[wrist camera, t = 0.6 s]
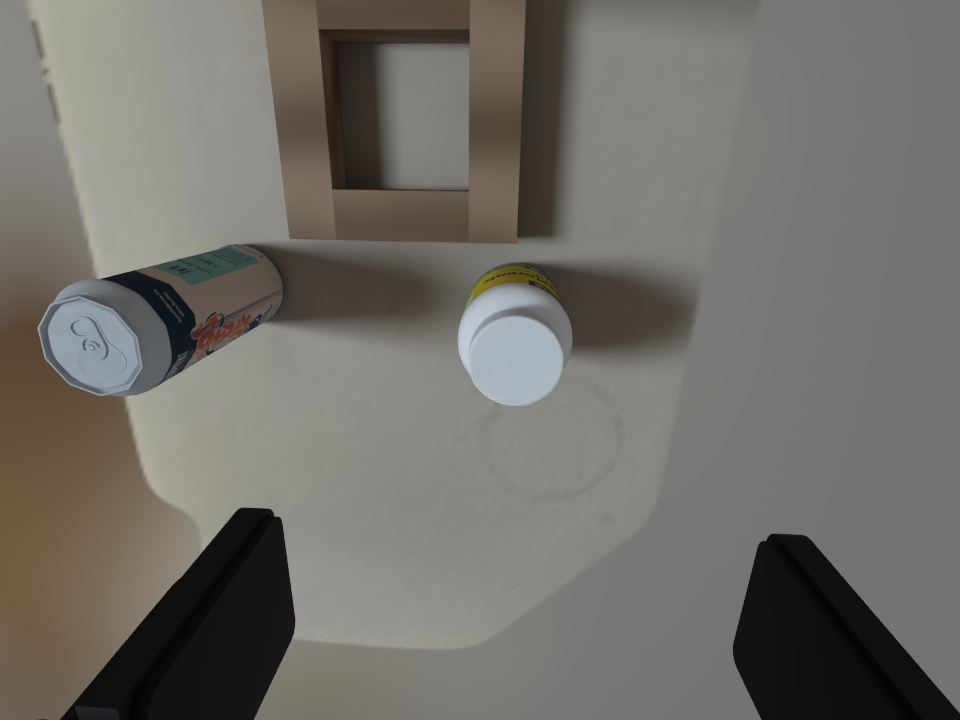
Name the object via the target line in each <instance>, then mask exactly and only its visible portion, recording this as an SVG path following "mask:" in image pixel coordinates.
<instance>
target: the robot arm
mask: <svg viewBox="0 0 960 720" xmlns="http://www.w3.org/2000/svg"><path fill="white" fill-rule="evenodd" d="M294 629H295V613H294V606H293V599H292V591H291V584H290V576H289V569H288V562H287V554H286V547H285V540H284V532H283V525H282V520H281V518H280V517H274V513H273V511H272V510H271V509H263V508H240V509H238V510H237V511H236V512H235V513H234V515H233V516H232V517H231V518H230V519H229V521H228V522H227V523H226V524H225V525H224V527H223V528H222V529H221V530H220V531H219V533H218V534H217V535H216V536H215V538H214V539H213V540H212V541H211V542H210V544H209V545H208V546H207V547H206V548H205V550H204V551H203V552H202V553H201V554H200V556H199V557H198V558H197V559H196V560H195V562H194V563H193V564H192V565H191V566H190V568H189V569H188V570H187V571H186V572H185V574H184V575H183V576H182V577H181V578H180V579H179V580H178V581H177V582H176V583H175V584H174V585H172V587H171V588H170V589H169V590H168V591H167V593H166V594H165V595H164V596H163V597H162V598H161V600H160V601H159V602H158V603H157V604H156V606H155V607H154V608H153V609H152V611H151V612H150V613H149V614H148V615H147V616H146V618H145V619H144V620H143V621H142V622H141V624H140V625H139V626H138V627H137V628H136V630H135V631H134V632H133V633H132V634H131V636H130V637H129V638H128V639H127V640H126V641H125V643H124V644H123V645H122V646H121V648H120V649H119V650H118V651H117V652H116V653H115V655H114V656H113V657H112V658H111V659H110V661H109V662H108V663H107V664H106V666H105V667H104V668H103V669H102V670H101V671H100V673H99V674H98V675H97V676H96V677H95V679H94V680H93V681H92V682H91V683H90V685H89V686H88V687H87V688H86V689H85V690H84V692H83V693H82V694H81V695H80V697H79V698H78V699H77V700H76V701H75V703H74V704H73V705H72V706H71V707H70V708H69V710H68V711H67V712H66V713H65V715H64V716H63V717H62V718H61V719H60V720H254V718H255V716H256V714H257V712H258V709H259V707H260V705H261V703H262V701H263V699H264V696H265V695H266V693H267V690H268V688H269V686H270V684H271V682H272V680H273V678H274V676H275V674H276V672H277V669H278V667H279V665H280V663H281V661H282V659H283V657H284V655H285V652H286V650H287V648H288V646H289V644H290V642H291V640H292V637H293V634H294ZM733 656H734V661H735V664H736V667H737V669H738V671H739V673H740V675H741V678H742V680H743V682H744V684H745V686H746V688H747V690H748V692H749V694H750V696H751V699H752V701H753V703H754V705H755V707H756V709H757V711H758V713H759V715H760V718H761V719H762V720H960V713H959V712H958V711H957V710H956V709H955V708H954V706H953V705H952V704H951V703H950V701H949V700H948V699H947V698H946V697H945V696H944V694H943V693H942V692H941V691H940V690H939V689H938V688H937V687H936V685H935V684H934V683H933V682H932V681H931V680H930V678H929V677H928V676H927V675H926V674H925V672H924V671H923V670H922V669H921V668H920V667H919V665H918V664H917V663H916V662H915V661H914V660H913V658H912V657H911V656H910V655H909V654H908V653H907V651H906V650H905V649H904V648H903V647H902V646H901V644H900V643H899V642H898V641H897V640H896V639H895V637H894V636H893V635H892V634H891V633H890V632H889V631H888V629H887V628H886V627H885V626H884V625H883V624H882V622H881V621H880V620H879V619H878V618H877V617H876V615H875V614H874V613H873V612H872V611H871V610H870V608H869V607H868V606H867V605H866V604H865V602H864V601H863V600H862V599H861V598H860V597H859V596H858V594H857V593H856V592H855V591H854V590H853V589H852V587H851V586H850V585H849V584H848V583H847V582H846V580H845V579H844V578H843V577H842V576H841V575H840V573H839V572H838V571H837V570H836V569H835V568H834V567H833V565H832V564H831V563H830V562H829V561H828V559H827V558H826V557H825V556H824V555H823V554H822V552H821V551H820V550H819V549H818V548H817V547H816V546H815V544H814V543H813V542H812V541H811V540H810V539H809V538H808V537H806V536H804V535H791V534H771V535H770V536H769V537H768V538H767V541H762V542H760V544H759V546H758V549H757V552H756V556H755V560H754V565H753V569H752V572H751V576H750V580H749V584H748V588H747V592H746V596H745V600H744V604H743V608H742V612H741V616H740V620H739V624H738V627H737V631H736V635H735V639H734V643H733ZM39 720H46V719H39Z"/></svg>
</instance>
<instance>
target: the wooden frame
mask: <svg viewBox="0 0 960 720" xmlns="http://www.w3.org/2000/svg"><path fill="white" fill-rule="evenodd" d="M262 6H263V15H264V24H265V32H266V41H267V49H268V58H269V66H270V75H271V83H272V92H273V100H274V109H275V117H276V126H277V134H278V143H279V151H280V160H281V169H282V177H283V186H284V194H285V203H286V211H287V220H288V228H289V237H290V239H325V240H376V241H427V242H478V243H517V222H518V196H519V170H520V144H521V117H522V91H523V65H524V39H525V13H526V0H262ZM336 43H470V84H469V190H406V189H347V184H346V171H345V158H344V144H343V131H342V118H341V105H340V92H339V78H338V65H337V52H336Z"/></svg>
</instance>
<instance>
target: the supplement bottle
mask: <svg viewBox="0 0 960 720" xmlns="http://www.w3.org/2000/svg"><path fill="white" fill-rule="evenodd" d="M458 349H459V354H460V357H461V360H462V362H463V364H464V366H465V368H466V370H467V371H468V372H469V374H470V375H471V378H472V380H473V382H474V383H475V385H476V386H477V388H478V389H479V390H480V391H481V392H482V393H483V394H484V395H485V396H487V397H488V398H490V399H491V400H493V401H495V402H498V403H500V404H504V405H509V406H522V405H528V404H531V403H534V402H537V401H539V400H541V399H542V398H544V397H545V396H547V395H548V394H549V393H550V392H551V391H552V390H553V389H554V388H555V387H556V385H557V384H558V382H559V380H560V378H561V376H562V373H563V369H564V368H565V366H566V364H567V362H568V360H569V357H570V353H571V349H572V329H571V324H570V320H569V317H568V315H567V313H566V310H565V308H564V306H563V304H562V301H561V299H560V297H559V295H558V292H557V290H556V288H555V287H554V285H553V283H552V282H551V281H550V280H549V279H548V277H547V276H546V275H544V274H543V273H542V272H541V271H539V270H538V269H536V268H534V267H531V266H529V265H525V264H519V263H509V264H504V265H500V266H497V267H495V268H493V269H491V270H489V271H488V272H486V273H485V274H484V275H483V276H482V277H481V278H480V279H479V280H478V281H477V283H476V284H475V286H474V288H473V289H472V291H471V293H470V296H469V299H468V302H467V305H466V307H465V310H464V313H463V316H462V319H461V322H460V326H459V332H458Z"/></svg>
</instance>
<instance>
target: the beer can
mask: <svg viewBox="0 0 960 720" xmlns="http://www.w3.org/2000/svg"><path fill="white" fill-rule="evenodd" d="M282 298H283V284H282V280H281V277H280V274H279V272H278V270H277V269H276V267H275V265H274V264H273V263H272V262H271V261H270V260H269V258H268V257H267V256H265V255H264V254H263V253H261V252H260V251H258V250H256V249H254V248H251V247H249V246H245V245H239V244H235V245H228V246H225V247H222V248H220V249H217V250H214V251H210V252H206V253H202V254H198V255H194V256H190V257H186V258H182V259H178V260H174V261H170V262H166V263H162V264H158V265H154V266H150V267H146V268H142V269H138V270H134V271H130V272H126V273H122V274H118V275H114V276H110V277H106V278H102V279H93V280H85V281H79V282H77V283H74V284H71V285H69V286H68V287H66V288H65V289H64V290H62V291H61V292H60V293H59V294H58V296H57V298H56V300H55V301H54V302H53V303H52V304H50V306H49V307H48V309H47V311H46V313H45V315H44V317H43V319H42V321H41V323H40V324H39V326H38V332H39V336H40V340H41V344H42V348H43V352H44V356H45V359H46V360H47V361H48V362H49V363H50V365H51V366H52V367H53V368H54V369H55V370H56V371H57V372H58V373H59V374H60V375H61V376H62V377H63V378H64V379H65V380H66V381H67V383H68V384H70V385H72V386H75V387H78V388H80V389H83V390H86V391H88V392H91V393H94V394H96V395H99V396H103V395H116V396H117V395H118V396H129V395H137V394H140V393H143V392H146V391H149V390H151V389H153V388H154V387H156V386H158V385H160V384H161V383H163V382H165V381H166V380H168V379H170V378H171V377H173V376H175V375H176V374H178V373H180V372H181V371H183V370H185V369H186V368H188V367H190V366H191V365H193V364H195V363H196V362H198V361H200V360H201V359H203V358H205V357H206V356H208V355H210V354H212V353H213V352H215V351H217V350H218V349H220V348H222V347H223V346H225V345H227V344H228V343H230V342H232V341H233V340H235V339H237V338H238V337H240V336H242V335H243V334H245V333H247V332H248V331H250V330H252V329H253V328H255V327H257V326H258V325H260V324H262V323H263V322H265V321H267V320H269V319H270V318H271V317H272V316H273V315H274V314H275V313H276V312H277V310H278V308H279V307H280V305H281V302H282Z"/></svg>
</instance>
